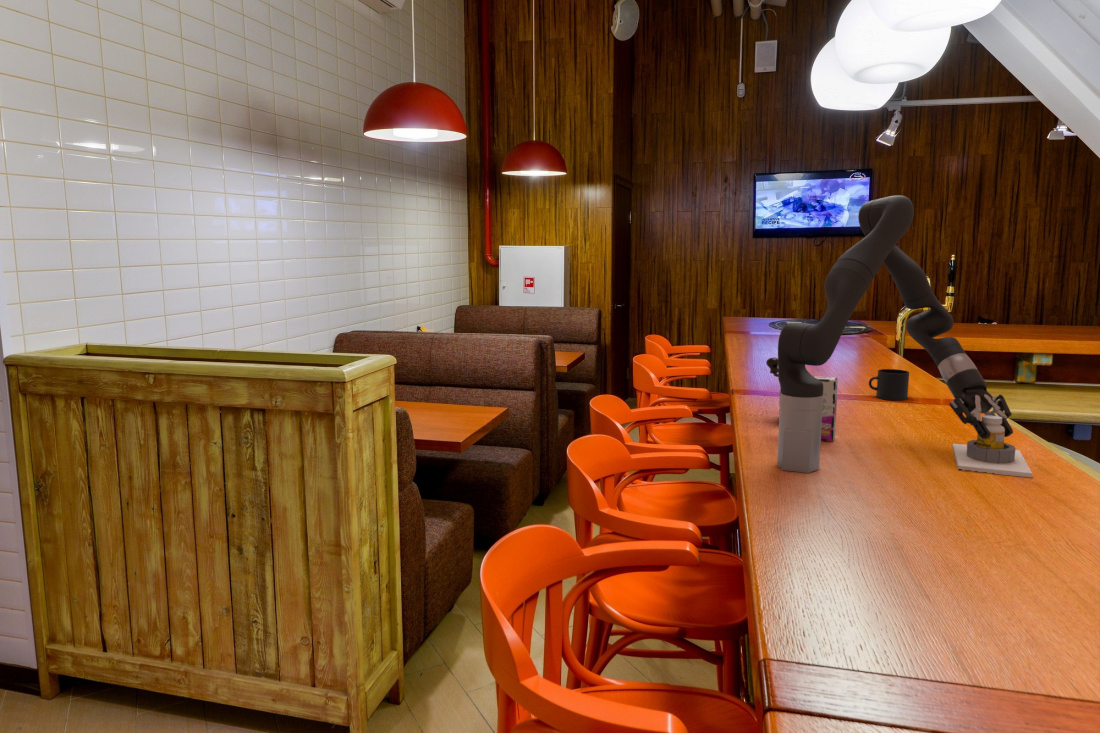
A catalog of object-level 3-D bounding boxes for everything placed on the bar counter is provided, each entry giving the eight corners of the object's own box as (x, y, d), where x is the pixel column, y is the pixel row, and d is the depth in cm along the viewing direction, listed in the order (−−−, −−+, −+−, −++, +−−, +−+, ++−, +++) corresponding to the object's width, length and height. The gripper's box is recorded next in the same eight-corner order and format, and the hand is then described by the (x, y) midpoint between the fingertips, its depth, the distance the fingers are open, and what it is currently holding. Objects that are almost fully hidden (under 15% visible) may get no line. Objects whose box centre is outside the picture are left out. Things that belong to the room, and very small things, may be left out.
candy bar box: (835, 437, 190) (838, 377, 187) (833, 442, 185) (836, 380, 183) (791, 433, 195) (794, 374, 192) (788, 437, 191) (791, 377, 188)
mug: (866, 393, 245) (868, 367, 243) (905, 396, 241) (907, 369, 239) (868, 399, 236) (870, 372, 235) (909, 401, 232) (911, 374, 231)
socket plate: (1031, 477, 156) (1033, 460, 155) (958, 469, 162) (959, 452, 161) (1018, 453, 173) (1020, 437, 173) (952, 447, 179) (954, 432, 179)
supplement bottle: (1008, 458, 166) (1011, 418, 164) (990, 460, 164) (993, 420, 163) (987, 452, 171) (991, 413, 169) (970, 454, 169) (973, 415, 168)
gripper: (946, 369, 169) (982, 430, 160) (996, 366, 173) (1034, 425, 163) (927, 386, 175) (962, 446, 166) (976, 383, 179) (1012, 442, 169)
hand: (998, 435), depth 165 cm, fingers open, 5 cm apart
